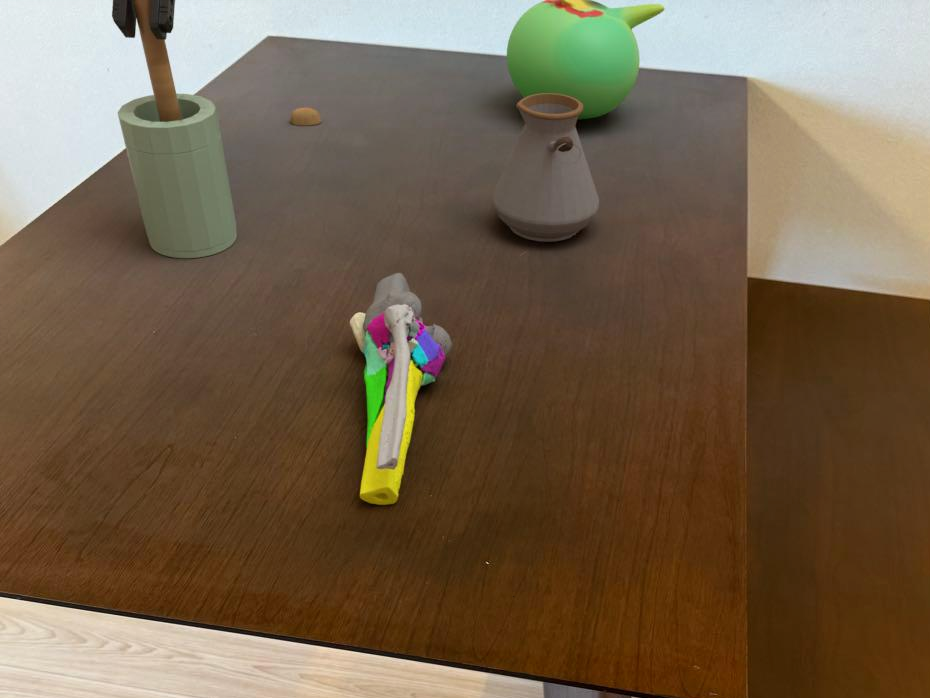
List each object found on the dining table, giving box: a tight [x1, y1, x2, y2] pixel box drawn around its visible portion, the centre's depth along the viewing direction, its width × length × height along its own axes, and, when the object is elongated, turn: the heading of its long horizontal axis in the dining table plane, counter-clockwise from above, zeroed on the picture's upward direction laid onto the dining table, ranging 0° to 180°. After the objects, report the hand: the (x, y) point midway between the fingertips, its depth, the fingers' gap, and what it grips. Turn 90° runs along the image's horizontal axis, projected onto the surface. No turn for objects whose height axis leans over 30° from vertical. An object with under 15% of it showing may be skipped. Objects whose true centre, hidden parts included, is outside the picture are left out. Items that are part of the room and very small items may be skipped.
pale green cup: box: [117, 93, 238, 259], centre depth 96 cm, size 9×9×13 cm
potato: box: [289, 106, 322, 126], centre depth 124 cm, size 3×4×2 cm
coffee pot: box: [492, 93, 600, 243], centre depth 97 cm, size 21×12×15 cm, turn 4°
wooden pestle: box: [132, 0, 182, 122], centre depth 90 cm, size 4×4×20 cm
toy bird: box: [506, 0, 666, 120], centre depth 125 cm, size 18×17×15 cm
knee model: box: [349, 272, 453, 506], centre depth 78 cm, size 9×8×25 cm
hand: (142, 33), depth 85 cm, fingers closed on wooden pestle, 2 cm apart
